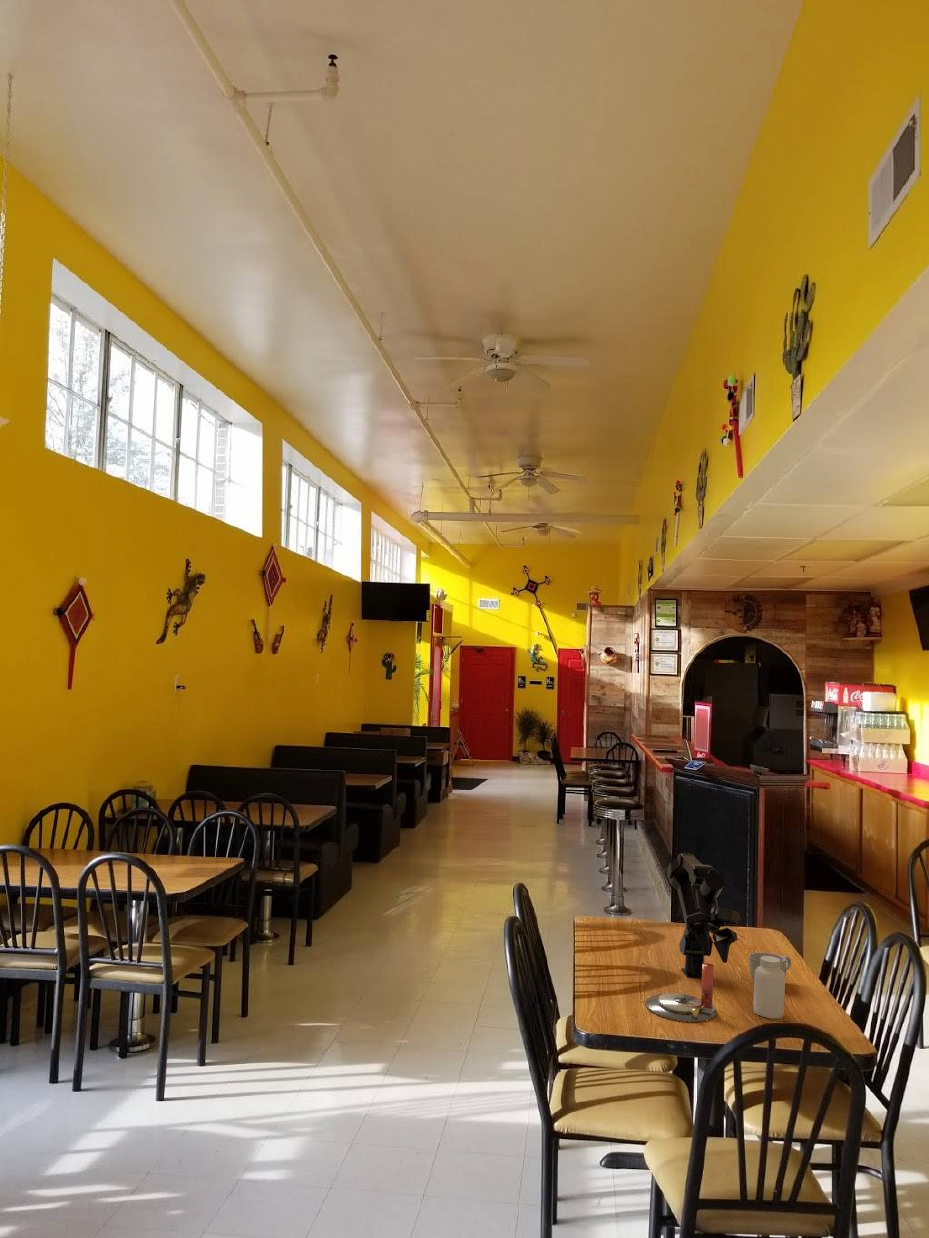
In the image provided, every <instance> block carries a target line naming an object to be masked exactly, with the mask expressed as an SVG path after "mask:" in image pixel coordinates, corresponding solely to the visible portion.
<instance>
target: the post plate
mask: <svg viewBox="0 0 929 1238" xmlns="http://www.w3.org/2000/svg"><path fill="white" fill-rule="evenodd" d="M660 995H662V994H660V993H659V994H655V995H651V996H650V997H648V998H646V1000H645V1008H646V1009H647V1010H648V1011H649V1012H650V1013H652V1014H653V1015H655V1014H656V1015H655V1016H658V1017H660V1016H661V1018H663V1019H666V1018H667V1019H666V1020H670V1019H672V1020H671V1021H674V1020H679V1021H678V1022H680V1021H686V1022H685V1023H701V1022H700V1021H705V1022H707V1021H706V1020H709V1021H711V1020H714V1017H715V1018H716V1016H717V1009H716V1008H715V1011H714V1013H713V1014H709V1013H704V1012H702V1011H701V1012H699V1009H697V1008H693V1009H692V1014H682V1013H676V1012H672V1011H669V1010H666V1009H664V1008H662V1007H661V1006H660V1005H659V1003H658V1001H659V996H660ZM699 999H700V1000H701V998H699ZM698 1012H699V1013H698ZM710 1019H711V1020H710ZM689 1021H690V1022H689Z"/></svg>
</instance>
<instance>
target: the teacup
mask: <svg viewBox="0 0 929 1238" xmlns="http://www.w3.org/2000/svg"><path fill="white" fill-rule="evenodd" d="M762 956H772V957H776V958H778V959H780V961H781V962H780V969H781V970H782V971H783V972H784V974H785V979H786V977H787V972H788V971H789V969H790V968H791V966H792V959H791V958H790V956H788V955H779V954H776V953H770V952H753V953H750V954H748V959H749V974H750V976H751V978H752V979H753V981H755V970H756V968H757V967H758V966H761V965H760V958H761V957H762Z"/></svg>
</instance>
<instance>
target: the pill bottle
mask: <svg viewBox="0 0 929 1238" xmlns="http://www.w3.org/2000/svg"><path fill="white" fill-rule="evenodd" d="M780 962H781V961H780V959H778V958H776V957H772V956H762V957H761V958H760V965H761V966H758V967H757V968H756V970H755V980H753V981H754V983H753V985H754V986H753V988H754V989H753V1007H752V1008H753V1012H754V1013H755V1014H756V1015H757V1016H759V1015H760V1017H762V1018H765V1017H766V1019H773V1020H774V1019H775V1020H776V1019H778V1020H779V1019H782V1018H783V1017H784V1014H785V993H786V991H785V988H786V985H785V984H786V978H785V974H784V972H783V971H782V970H781V969H780Z"/></svg>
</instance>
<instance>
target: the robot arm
mask: <svg viewBox="0 0 929 1238" xmlns="http://www.w3.org/2000/svg"><path fill="white" fill-rule="evenodd" d="M666 869H667V870H666V875H667V878H668V879H669V882H670V885H671V887H672V888H673V889H675V890H676V891H677V894H678V895H677V896H678V899H679V903H680V908H681V910H682V911H681V912H682V915H683V919H684V925H685V927H684V931H683V934H682V937H681V939H680V941H679V942H678V944H679V945H678V947H679V952H680V953H681V954H682V955H683V956H684V968H683V967H681V968H680V971H681V972H682V973H683V974H684V975H685V976H686V977H688V978H702V964H703V963H705V957H711V954H712V951H713V950H712V949H713V945H714V947H715V949H716V951H717V954H718V955H719V958H720V960H721V962H722V963H723V964H725V963H728V960H729V959H728V957H729V952H730V947H731V945H732V944H733V943H735V942H737V941H738V934H737V932H735V931H734V930H732V929H730V928H728V927H726V926H727V924H730V925H734V926H738V924H739V923H740V922H741V920H742V919H741V915H740V913H739V912H738V911H736V910H734V909H730V908H723V907H722V908H721V907H719V906H718V905H719V903H718V901H717V900H718V899H717V898H718V897H719V895H720V894H721V892H722V891H723V888H724V887H725V879H724V877H723V876H722V875H721V874H720V873H719V872H717V870H716V869H715V868H714V867H713V865H709V864H703V863H702V862H701V861H700V860H699V859H697V858H696V855H695V854H693V853H679V854H678V855H677V857H676V858H674V859H673V860H671V861H670V862H669V864H668V867H667V868H666ZM693 886H698V887H697V888H696V890H695V896H694V892H693ZM695 897H696V899H695ZM696 902H697V904H696ZM724 927H725V928H724ZM721 928H722V929H721ZM711 934H712V936H711Z"/></svg>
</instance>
